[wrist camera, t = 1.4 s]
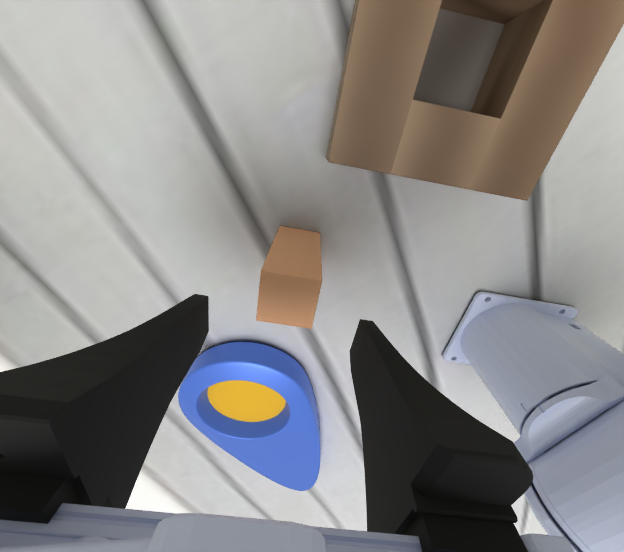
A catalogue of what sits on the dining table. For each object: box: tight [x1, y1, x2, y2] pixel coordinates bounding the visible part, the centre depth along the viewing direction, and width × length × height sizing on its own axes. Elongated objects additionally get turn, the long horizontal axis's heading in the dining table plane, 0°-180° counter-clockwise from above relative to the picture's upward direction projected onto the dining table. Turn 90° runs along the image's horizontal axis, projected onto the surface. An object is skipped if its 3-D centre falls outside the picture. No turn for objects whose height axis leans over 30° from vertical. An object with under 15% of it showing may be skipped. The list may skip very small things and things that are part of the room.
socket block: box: [326, 0, 624, 201], centre depth 14 cm, size 12×12×4 cm
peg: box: [256, 226, 322, 329], centre depth 18 cm, size 3×3×8 cm
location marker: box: [178, 342, 320, 491], centre depth 30 cm, size 13×3×25 cm
